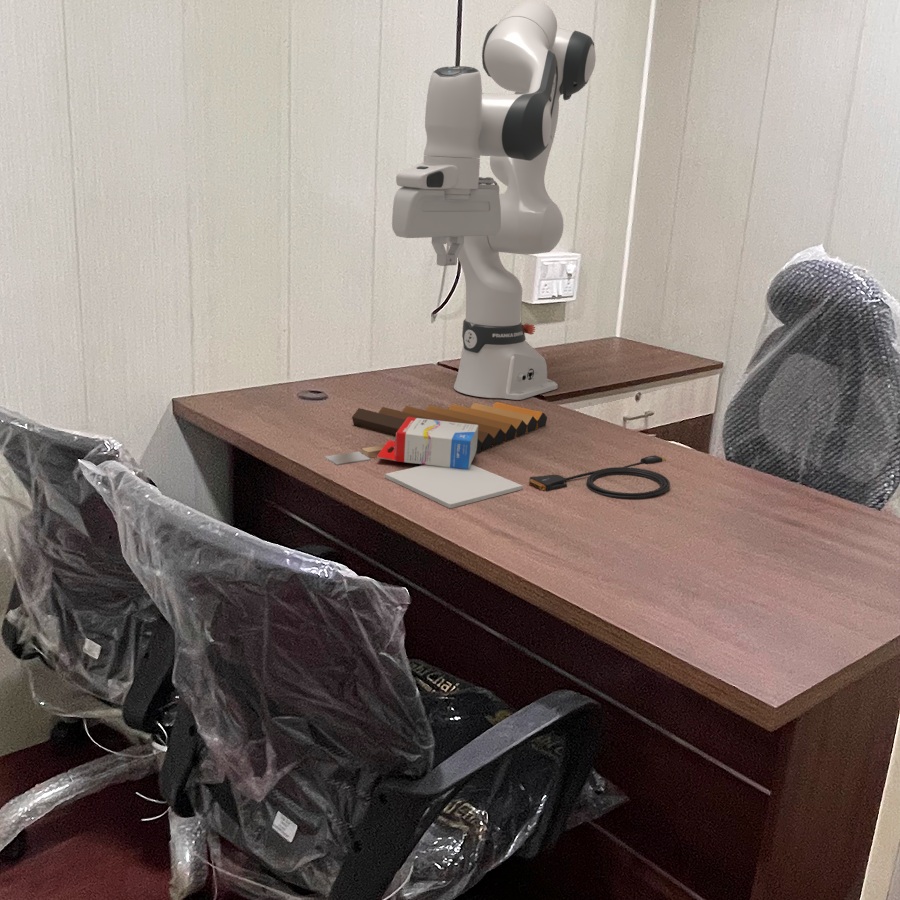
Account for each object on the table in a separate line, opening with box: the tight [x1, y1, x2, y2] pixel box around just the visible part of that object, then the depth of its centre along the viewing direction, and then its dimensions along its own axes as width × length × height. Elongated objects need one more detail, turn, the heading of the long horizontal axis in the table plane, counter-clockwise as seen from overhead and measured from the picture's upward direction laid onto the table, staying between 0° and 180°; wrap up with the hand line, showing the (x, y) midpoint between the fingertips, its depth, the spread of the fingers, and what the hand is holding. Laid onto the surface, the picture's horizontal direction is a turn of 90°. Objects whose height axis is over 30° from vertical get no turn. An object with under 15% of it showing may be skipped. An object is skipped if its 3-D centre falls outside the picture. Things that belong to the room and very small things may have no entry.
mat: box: [384, 463, 523, 509], centre depth 142 cm, size 14×15×1 cm
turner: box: [324, 444, 394, 466], centre depth 153 cm, size 15×4×1 cm, turn 124°
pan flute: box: [351, 401, 548, 455], centre depth 171 cm, size 25×3×25 cm
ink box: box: [376, 417, 478, 469], centre depth 150 cm, size 8×5×15 cm
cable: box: [528, 455, 671, 500], centre depth 146 cm, size 14×28×2 cm, turn 124°
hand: (446, 265), depth 155 cm, fingers closed
